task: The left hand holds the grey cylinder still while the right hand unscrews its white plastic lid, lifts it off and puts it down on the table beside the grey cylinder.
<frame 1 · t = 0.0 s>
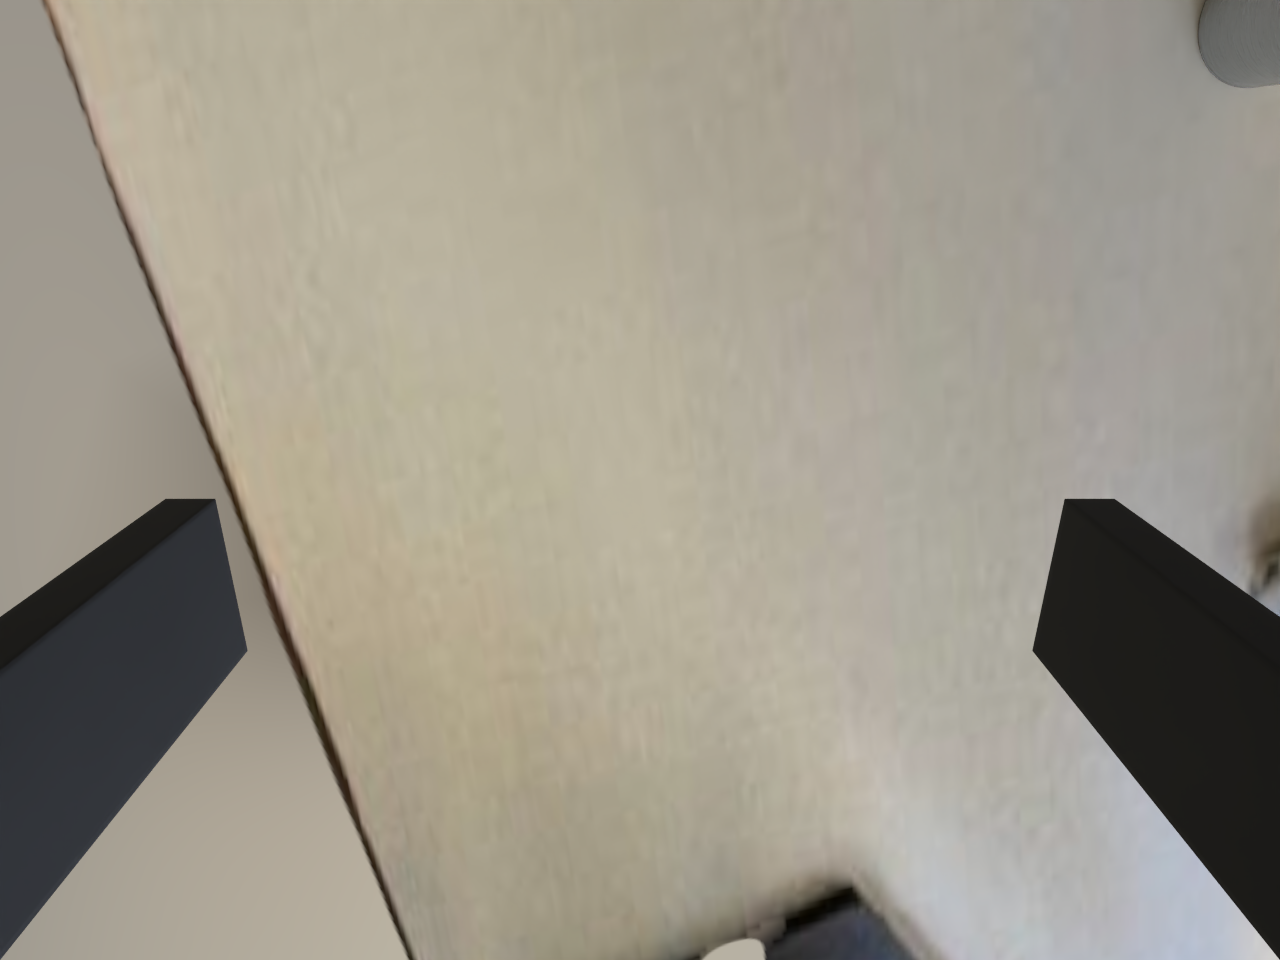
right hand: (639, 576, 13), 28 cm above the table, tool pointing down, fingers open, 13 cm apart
grey cylinder: (1263, 17, 34), on the table
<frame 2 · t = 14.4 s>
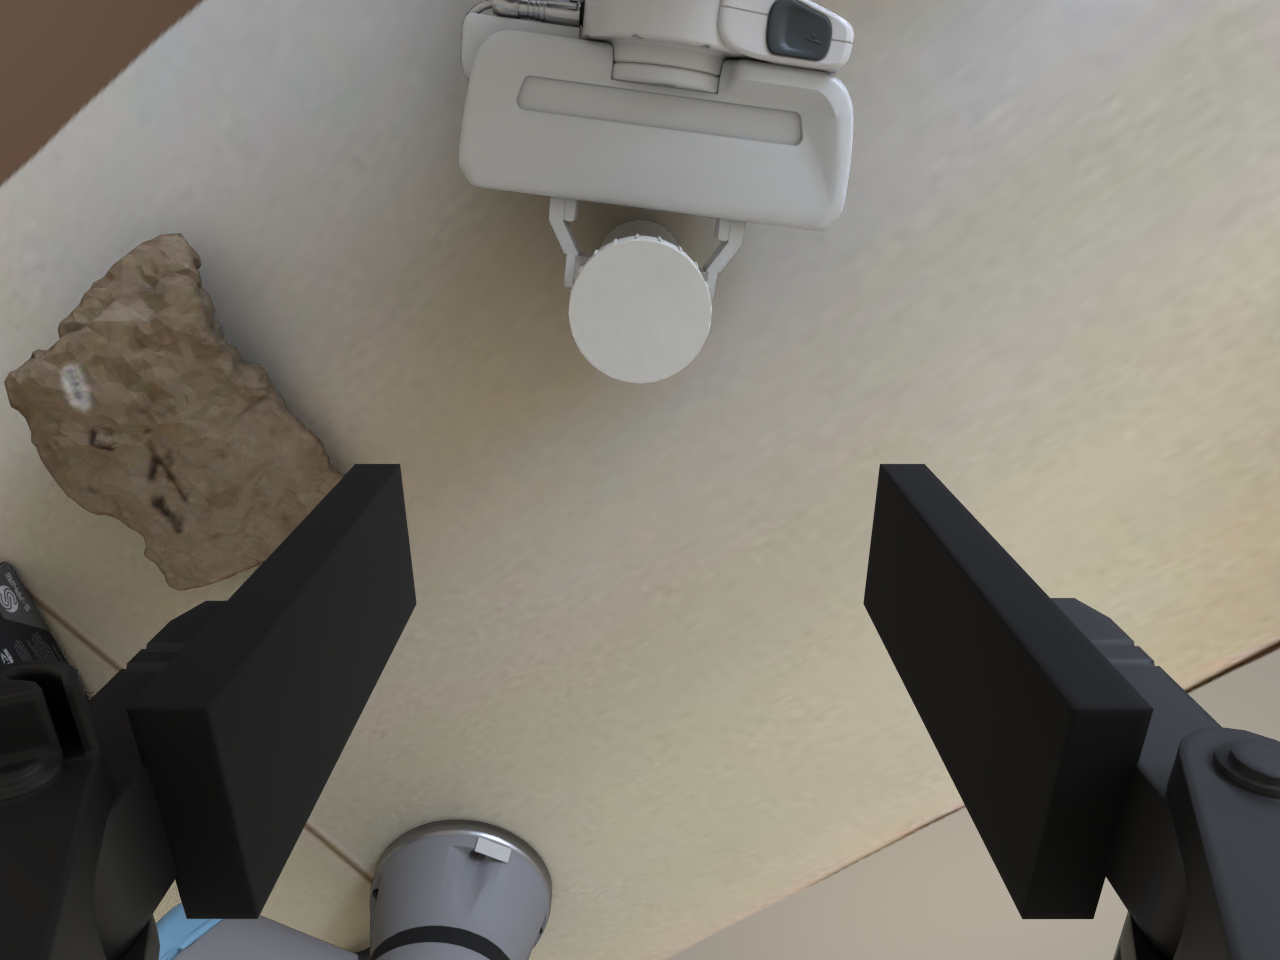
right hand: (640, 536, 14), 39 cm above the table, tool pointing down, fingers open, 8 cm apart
left hand: (638, 294, 45), fingers closed on grey cylinder, 5 cm apart
stone: (212, 419, 54), on the table
lid: (640, 312, 35), point 17 cm above the table, screwed on, not yet turned
graphics card box: (33, 656, 61), on the table
grey cylinder: (639, 264, 51), on the table, touching left hand
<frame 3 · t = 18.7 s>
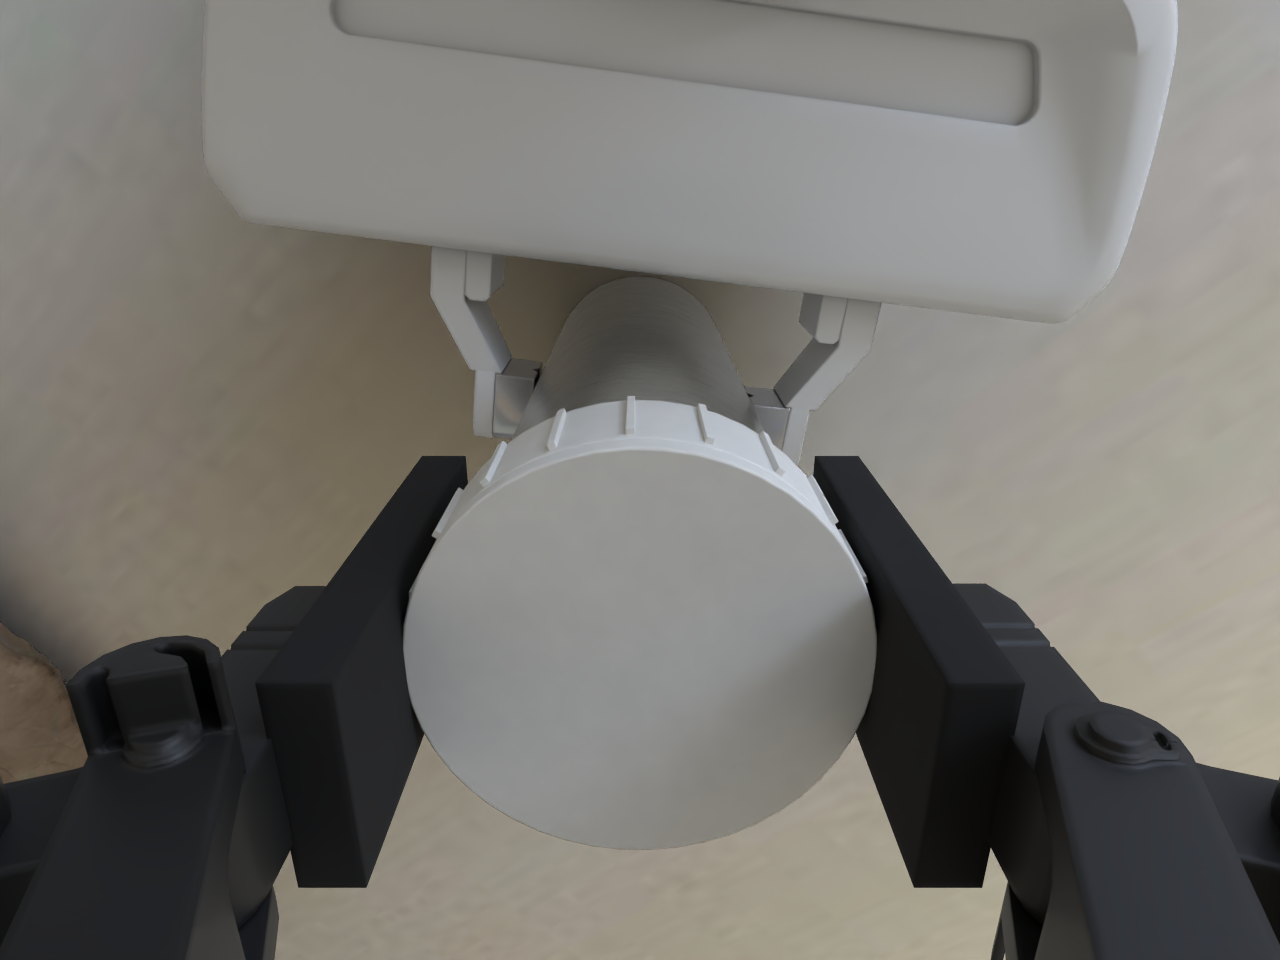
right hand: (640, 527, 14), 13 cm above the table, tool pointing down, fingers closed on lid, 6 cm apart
left hand: (637, 448, 21), fingers closed on grey cylinder, 5 cm apart
lid: (639, 655, 11), point 17 cm above the table, screwed on, not yet turned, touching right hand
grey cylinder: (639, 359, 27), on the table, touching left hand
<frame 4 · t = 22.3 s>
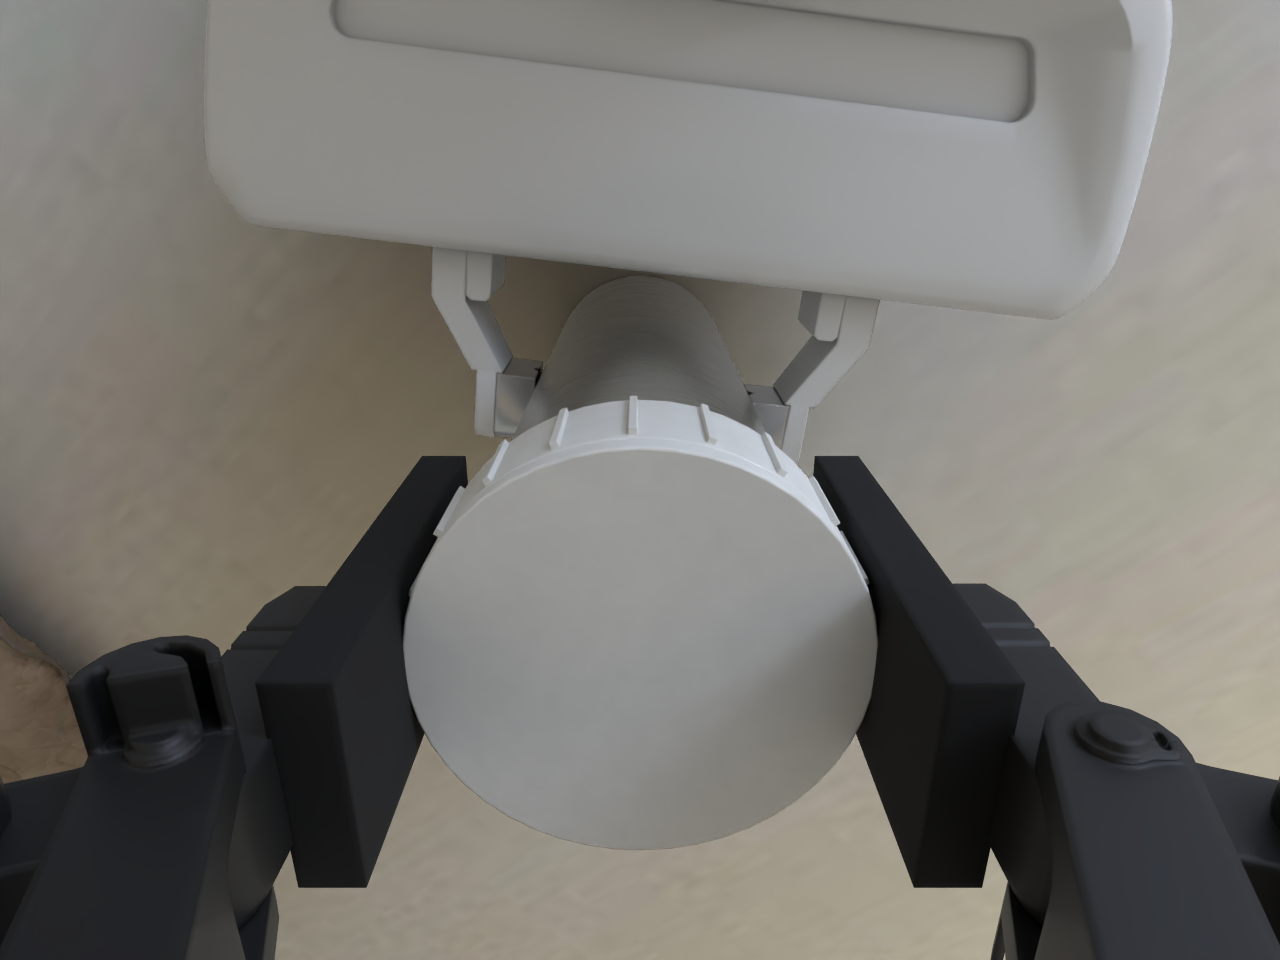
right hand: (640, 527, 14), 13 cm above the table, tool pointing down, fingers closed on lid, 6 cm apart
left hand: (637, 446, 21), fingers closed on grey cylinder, 5 cm apart
lid: (640, 655, 11), point 17 cm above the table, turned 125° so far, risen 0.1 cm, still on its thread, touching right hand
grey cylinder: (640, 358, 27), on the table, touching left hand
when the right hand's fingers open (0 cm above the table, at t = 39.2 s): lid drops 3 cm, point 2 cm above the table.
when the left hand's fingers open (6 cm above the table, at t = 39.9 s): grey cylinder stays where it is, on the table.
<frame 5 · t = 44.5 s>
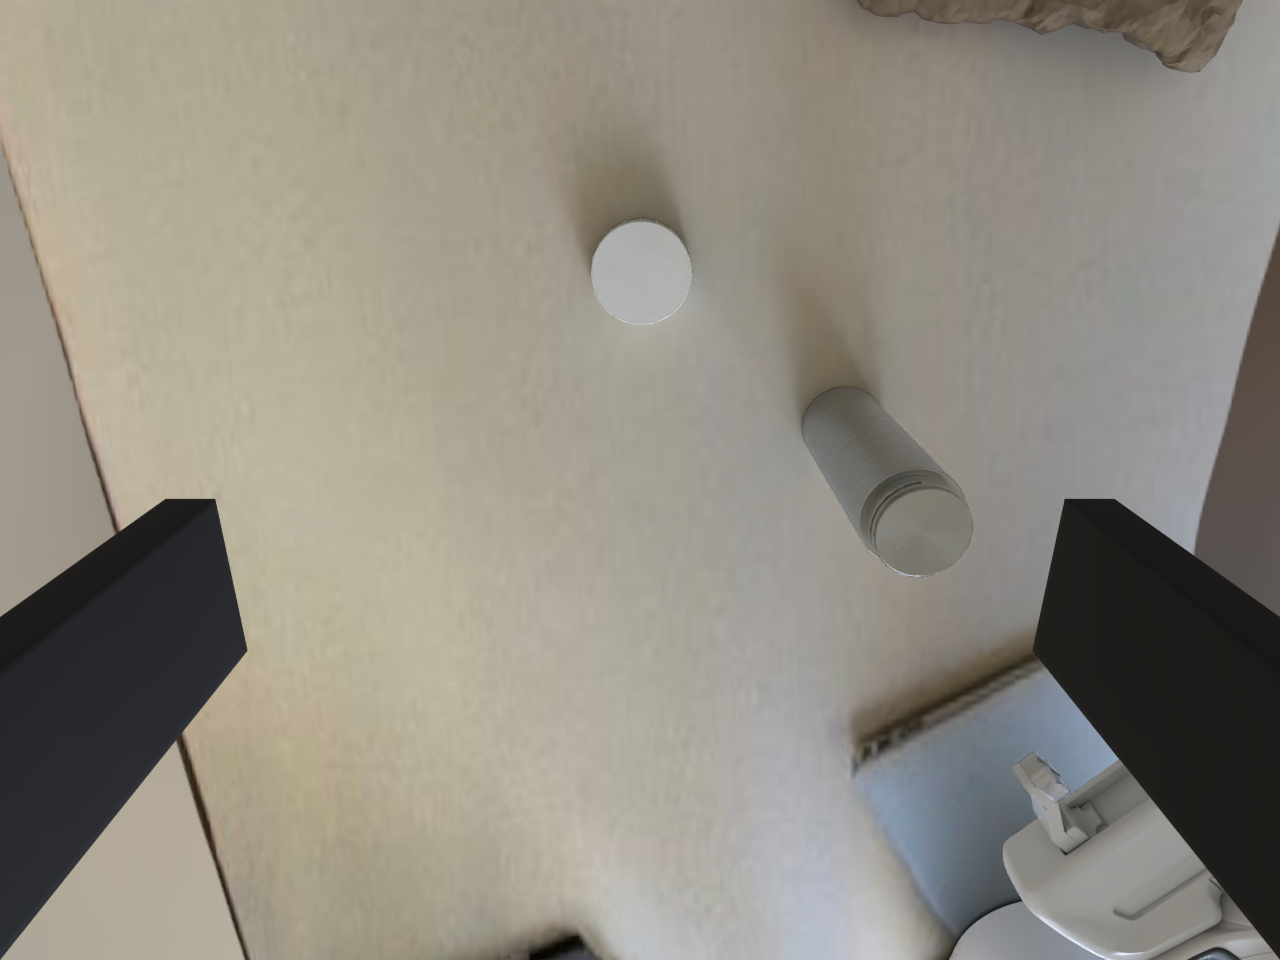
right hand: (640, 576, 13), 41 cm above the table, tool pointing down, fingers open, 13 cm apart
lid: (641, 273, 49), point 2 cm above the table, off its thread
grey cylinder: (841, 425, 54), on the table
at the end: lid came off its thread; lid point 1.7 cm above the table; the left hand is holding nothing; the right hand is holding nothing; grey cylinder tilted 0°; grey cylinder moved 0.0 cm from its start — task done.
